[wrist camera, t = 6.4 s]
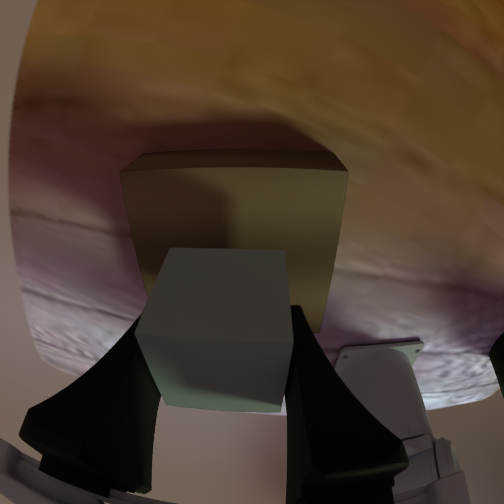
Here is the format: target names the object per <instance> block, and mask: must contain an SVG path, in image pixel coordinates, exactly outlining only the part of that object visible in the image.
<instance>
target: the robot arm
mask: <svg viewBox="0 0 504 504" xmlns="http://www.w3.org/2000/svg"><path fill="white" fill-rule="evenodd" d="M290 307H291V317H292V329H293V340H294V343H293V349H292V354H291V360H290V366H289V371H288V376H287V382H286V387H285V392H284V394H285V402H286V411H287V486H286V504H471V503H470V498H469V493H468V488H467V483H466V478H465V474H464V471H463V470H460V466H459V462H458V458H457V455H456V452H455V449H454V446H453V444H452V442H451V441H450V440H447V439H445V438H443V437H441V438H439V439H436V438H434V437H433V433H432V429H431V426H430V423H429V419H428V415H427V412H426V409H425V405H424V402H423V399H422V396H421V392H420V389H419V386H418V383H417V380H416V377H415V374H414V371H413V368H412V365H413V363H414V362H415V360H416V359H417V357H418V355H419V354H420V352H421V350H422V349H423V347H424V343H423V341H413V342H403V343H393V344H381V345H367V346H351V347H344V348H342V349H341V350H340V353H339V356H338V359H337V361H336V364H335V367H334V368H333V366H332V365H331V363H330V362H329V360H328V359H327V357H326V355H325V354H324V352H323V350H322V349H321V347H320V345H319V343H318V342H317V340H316V338H315V336H314V334H313V332H312V330H311V328H310V326H309V324H308V322H307V319H306V317H305V315H304V312H303V309H302V307H301V306H300V305H290ZM142 313H143V312H142ZM142 313H141V315H142ZM141 315H140V316H139V317H138V318H137V320H136V321H135V322H134V323H133V324H132V326H131V327H130V328H129V329H128V330H127V331H126V332H125V334H124V335H123V336H122V337H121V338H120V339H119V340H118V342H117V343H116V344H115V345H114V346H113V347H112V348H111V349H110V350H109V351H108V352H107V353H106V354H105V355H104V356H103V357H102V358H101V359H100V360H99V361H98V362H97V363H96V364H95V365H94V366H93V367H91V368H90V369H89V370H88V371H87V372H86V373H84V374H83V375H82V376H81V377H79V378H78V379H77V380H75V381H74V382H73V383H72V384H70V385H69V386H67V387H66V388H65V389H63V390H61V391H60V392H58V393H57V394H55V395H54V396H52V397H50V398H49V399H47V400H45V401H43V402H41V403H39V404H37V405H36V406H33V407H31V408H29V409H28V412H27V414H26V416H25V419H24V421H23V424H22V427H21V429H20V432H19V436H20V438H21V439H22V440H23V441H24V442H26V443H27V444H28V445H30V446H31V447H32V448H34V449H35V450H37V451H38V452H39V453H41V454H42V459H41V462H40V461H38V460H36V459H34V458H32V457H30V456H28V455H26V454H24V453H22V452H20V450H18V449H17V448H15V447H14V446H12V445H11V444H9V443H8V442H6V441H4V440H3V439H1V438H0V493H1V494H2V495H4V496H5V497H6V498H8V499H9V500H10V501H12V502H13V503H15V504H105V503H104V502H106V503H109V504H176V503H170V502H165V501H159V500H154V499H150V498H145V497H141V496H137V495H132V494H129V493H126V492H127V491H128V492H132V493H135V492H137V493H142V494H146V493H148V492H149V491H151V490H152V489H151V488H152V486H151V481H152V479H151V478H152V454H153V442H154V433H155V425H156V418H157V410H158V406H159V402H160V398H161V393H160V391H159V389H158V387H157V385H156V383H155V381H154V378H153V376H152V374H151V372H150V370H149V367H148V365H147V363H146V360H145V358H144V356H143V353H142V351H141V348H140V346H139V344H138V341H137V339H136V336H135V331H136V328H137V325H138V323H139V320H140V318H141Z"/></svg>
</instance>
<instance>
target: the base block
mask: <svg viewBox="0 0 504 504" xmlns="http://www.w3.org/2000/svg"><path fill="white" fill-rule="evenodd" d="M348 174H349V171H348V170H347V169H346V167H345V166H344V165H343V164H342V163H341V161H340V160H339V159H338V158H337V156H336V155H335V154H334V153H327V152H311V151H291V150H194V151H173V152H157V153H144V154H142V155H140V156H139V157H138V158H136V159H135V160H134V161H133V162H131V163H130V164H129V165H128V166H127V167H125V168H124V169H123V170H122V171H121V172H120V177H121V182H122V188H123V194H124V199H125V204H126V209H127V214H128V219H129V224H130V229H131V233H132V238H133V242H134V246H135V250H136V255H137V259H138V263H139V267H140V271H141V274H142V278H143V282H144V286H145V289H146V293H147V296H148V298H149V296H150V293H151V291H152V288H153V286H154V284H155V281H156V279H157V277H158V274H159V272H160V270H161V267H162V265H163V263H164V260H165V258H166V256H167V254H168V252H169V249H170V248H214V249H260V250H285V256H286V266H287V276H288V286H289V296H290V305H300V306H301V307H302V309H303V312H304V315H305V317H306V319H307V322H308V324H309V326H310V328H311V330H312V332H313V333H319V332H320V328H321V324H322V320H323V315H324V311H325V306H326V302H327V297H328V292H329V288H330V283H331V278H332V273H333V268H334V262H335V257H336V252H337V246H338V240H339V235H340V229H341V222H342V216H343V210H344V203H345V196H346V189H347V182H348Z"/></svg>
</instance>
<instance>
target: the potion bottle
mask: <svg viewBox="0 0 504 504" xmlns="http://www.w3.org/2000/svg"><path fill="white" fill-rule="evenodd" d="M489 357H490V360H491V363H492V365H493V368H494V371H495V374H496V376H497V379H498V382H499V385H500V388H501V392H502V395H503V398H504V333H503V334H502V335H501V336H500V338H499V339H498V340H497V341H496V342H495V344H494V345H493V347H492V348H491V352H490V356H489Z"/></svg>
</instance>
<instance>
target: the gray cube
mask: <svg viewBox="0 0 504 504" xmlns="http://www.w3.org/2000/svg"><path fill="white" fill-rule="evenodd" d="M135 336H136V339H137V341H138V344H139V346H140V348H141V351H142V353H143V356H144V358H145V360H146V363H147V365H148V367H149V370H150V372H151V374H152V376H153V378H154V381H155V383H156V385H157V387H158V389H159V391H160V393H161V396H162V398H163V400H164V402H165V404H166V405H170V406H178V407H186V408H196V409H208V410H219V411H237V412H281V407H282V402H283V397H284V392H285V387H286V382H287V376H288V371H289V366H290V360H291V354H292V349H293V343H294V340H293V329H292V317H291V307H290V296H289V286H288V276H287V266H286V256H285V250H260V249H214V248H170V249H169V252H168V254H167V256H166V258H165V260H164V263H163V265H162V267H161V270H160V272H159V274H158V277H157V279H156V281H155V284H154V286H153V288H152V291H151V293H150V296H149V298H148V300H147V303H146V305H145V308H144V310H143V313H142V315H141V318H140V320H139V323H138V325H137V328H136V331H135Z"/></svg>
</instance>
